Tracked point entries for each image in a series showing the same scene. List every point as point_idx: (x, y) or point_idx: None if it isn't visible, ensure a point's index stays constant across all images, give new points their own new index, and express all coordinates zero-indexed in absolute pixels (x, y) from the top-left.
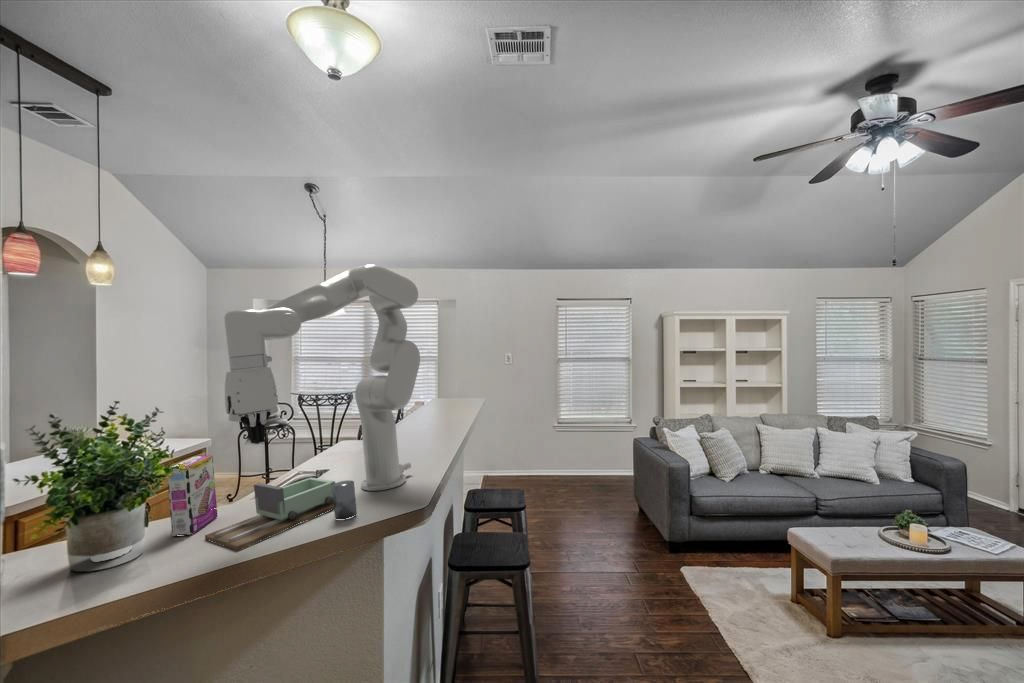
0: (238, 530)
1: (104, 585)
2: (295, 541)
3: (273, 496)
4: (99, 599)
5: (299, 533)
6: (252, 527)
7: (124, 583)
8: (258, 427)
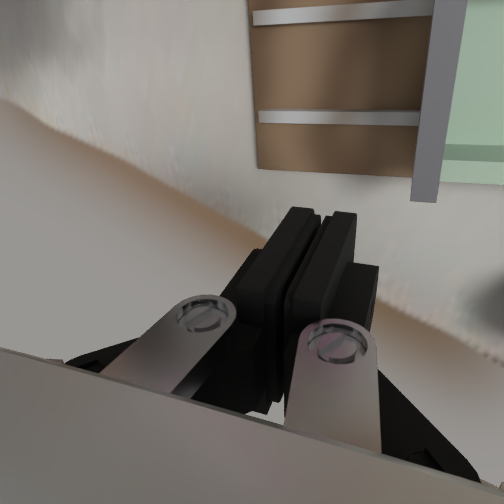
0: (323, 35)
1: (27, 22)
2: None
3: (416, 146)
4: (27, 98)
5: (407, 233)
6: (360, 62)
7: (59, 63)
8: (277, 397)
